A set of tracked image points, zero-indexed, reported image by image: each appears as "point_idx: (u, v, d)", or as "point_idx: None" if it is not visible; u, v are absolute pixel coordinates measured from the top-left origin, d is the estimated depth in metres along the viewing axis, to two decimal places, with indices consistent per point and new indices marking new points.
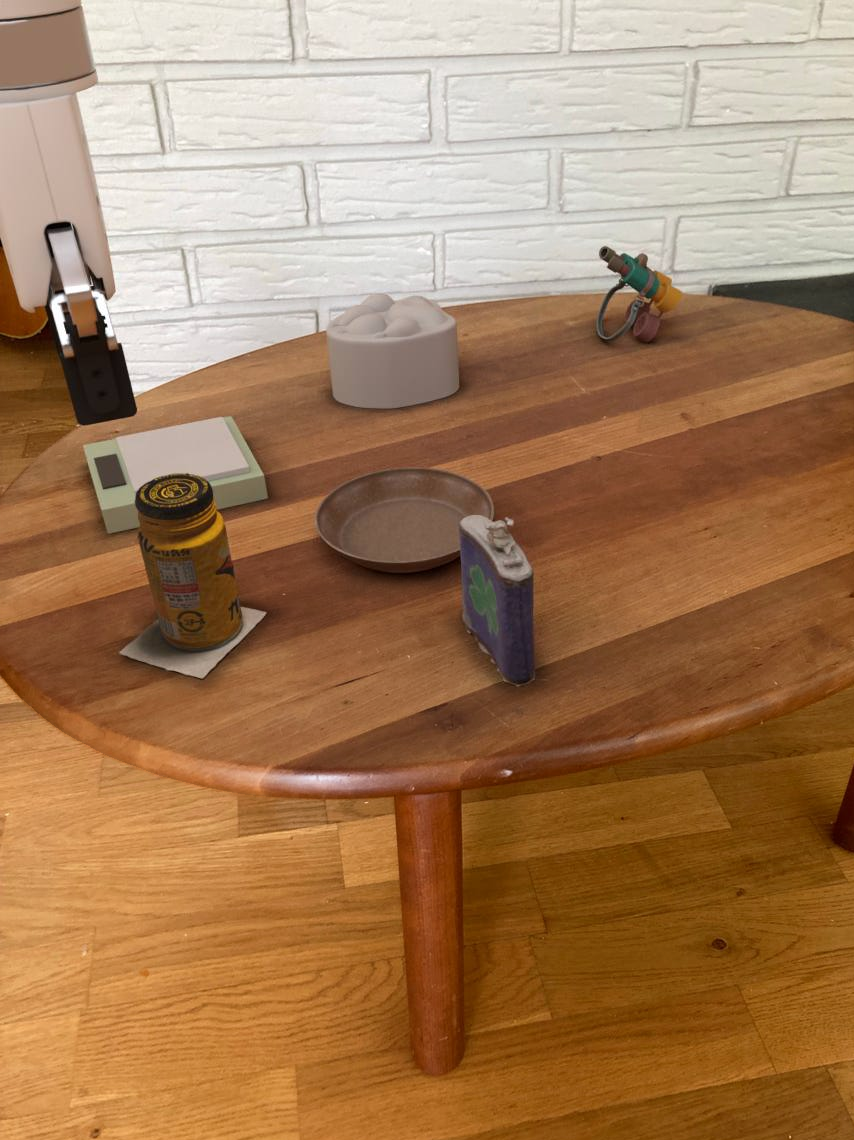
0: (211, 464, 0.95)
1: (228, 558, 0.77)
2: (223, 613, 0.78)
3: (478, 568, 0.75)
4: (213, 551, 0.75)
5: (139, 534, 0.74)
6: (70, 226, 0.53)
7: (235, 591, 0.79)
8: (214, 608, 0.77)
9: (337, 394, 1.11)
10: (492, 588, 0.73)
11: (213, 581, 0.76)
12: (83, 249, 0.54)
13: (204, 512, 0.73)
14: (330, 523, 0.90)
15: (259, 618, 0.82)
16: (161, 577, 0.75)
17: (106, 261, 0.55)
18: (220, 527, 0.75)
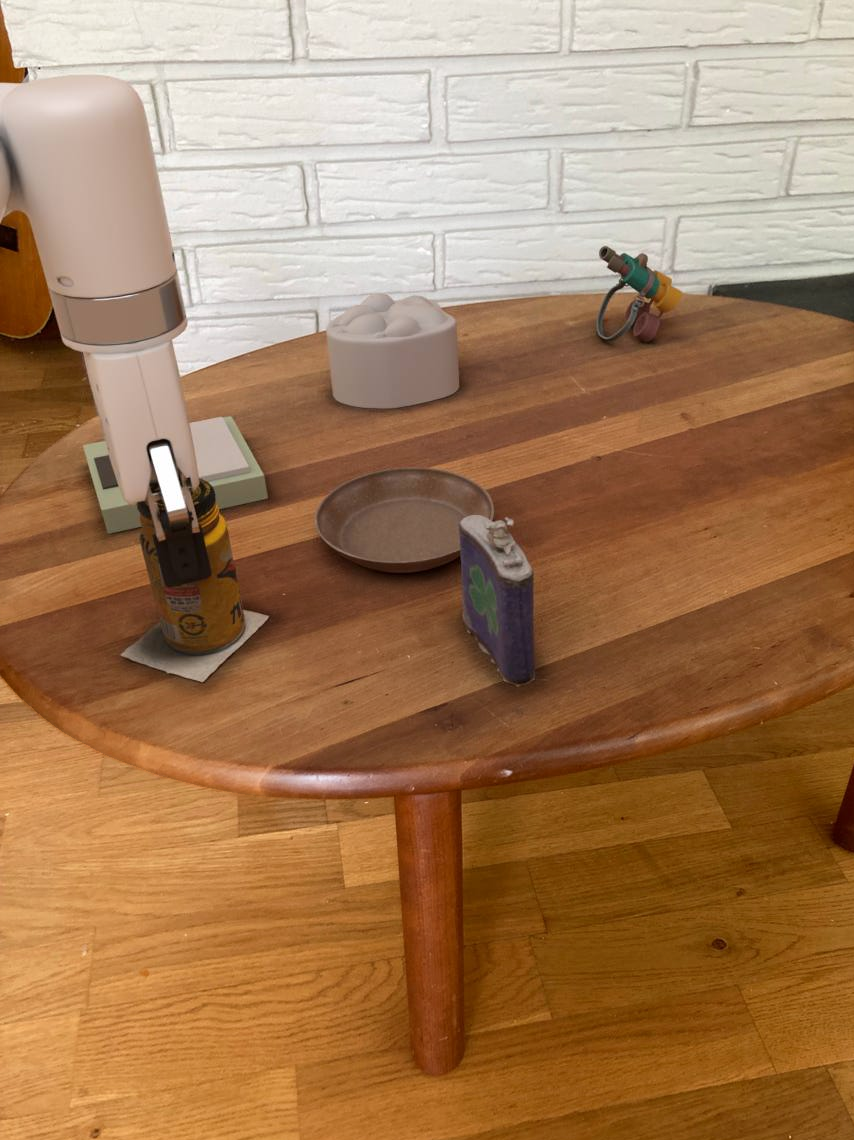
0: (211, 464, 0.95)
1: (230, 561, 0.76)
2: (225, 617, 0.77)
3: (478, 568, 0.75)
4: (215, 555, 0.74)
5: (141, 536, 0.74)
6: (168, 447, 0.66)
7: (237, 595, 0.78)
8: (215, 611, 0.76)
9: (337, 394, 1.11)
10: (492, 588, 0.73)
11: (214, 584, 0.75)
12: (176, 458, 0.67)
13: (205, 515, 0.73)
14: (330, 523, 0.90)
15: (261, 622, 0.81)
16: (162, 580, 0.74)
17: (193, 464, 0.68)
18: (222, 530, 0.75)
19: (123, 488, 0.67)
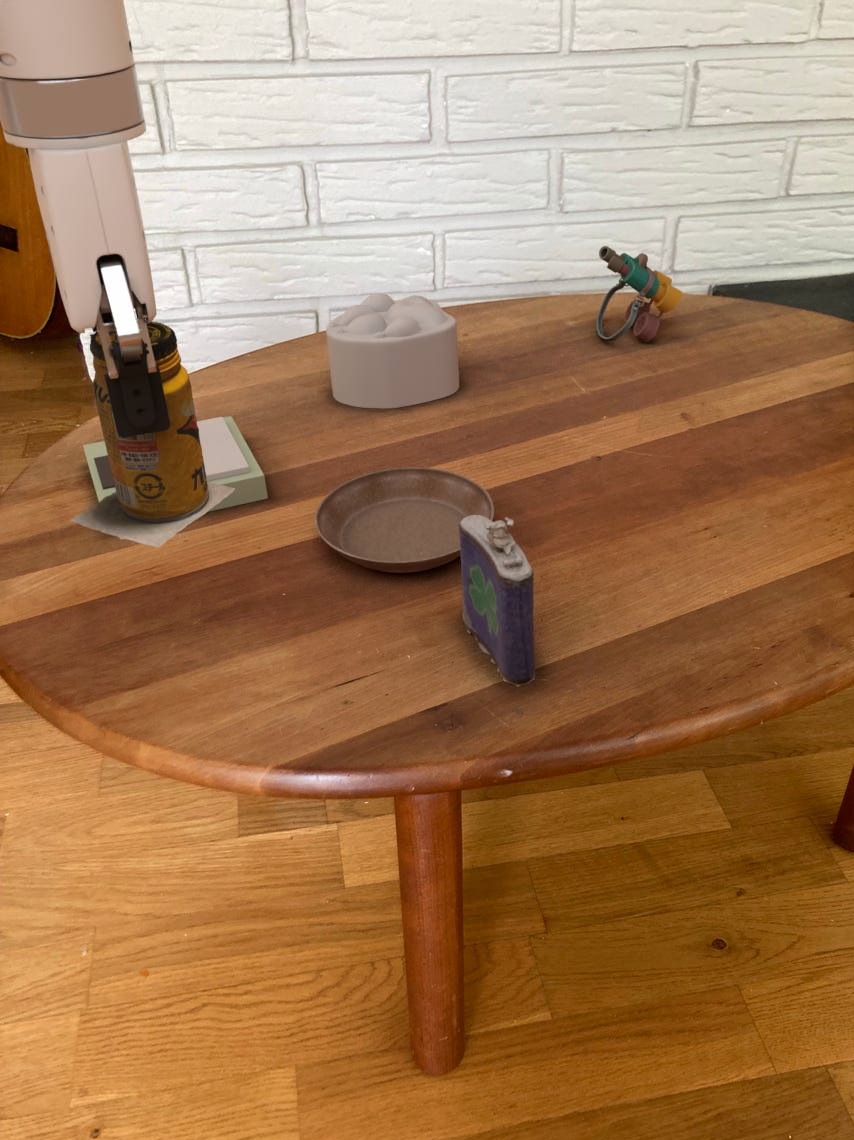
0: (211, 464, 0.95)
1: (192, 418, 0.70)
2: (185, 480, 0.71)
3: (478, 568, 0.75)
4: (175, 406, 0.68)
5: (94, 383, 0.68)
6: (121, 265, 0.60)
7: (200, 458, 0.72)
8: (175, 473, 0.70)
9: (337, 394, 1.11)
10: (492, 588, 0.73)
11: (174, 440, 0.69)
12: (130, 278, 0.60)
13: (165, 359, 0.66)
14: (330, 523, 0.90)
15: (227, 494, 0.75)
16: None
17: (149, 289, 0.61)
18: (183, 380, 0.68)
19: (70, 311, 0.60)
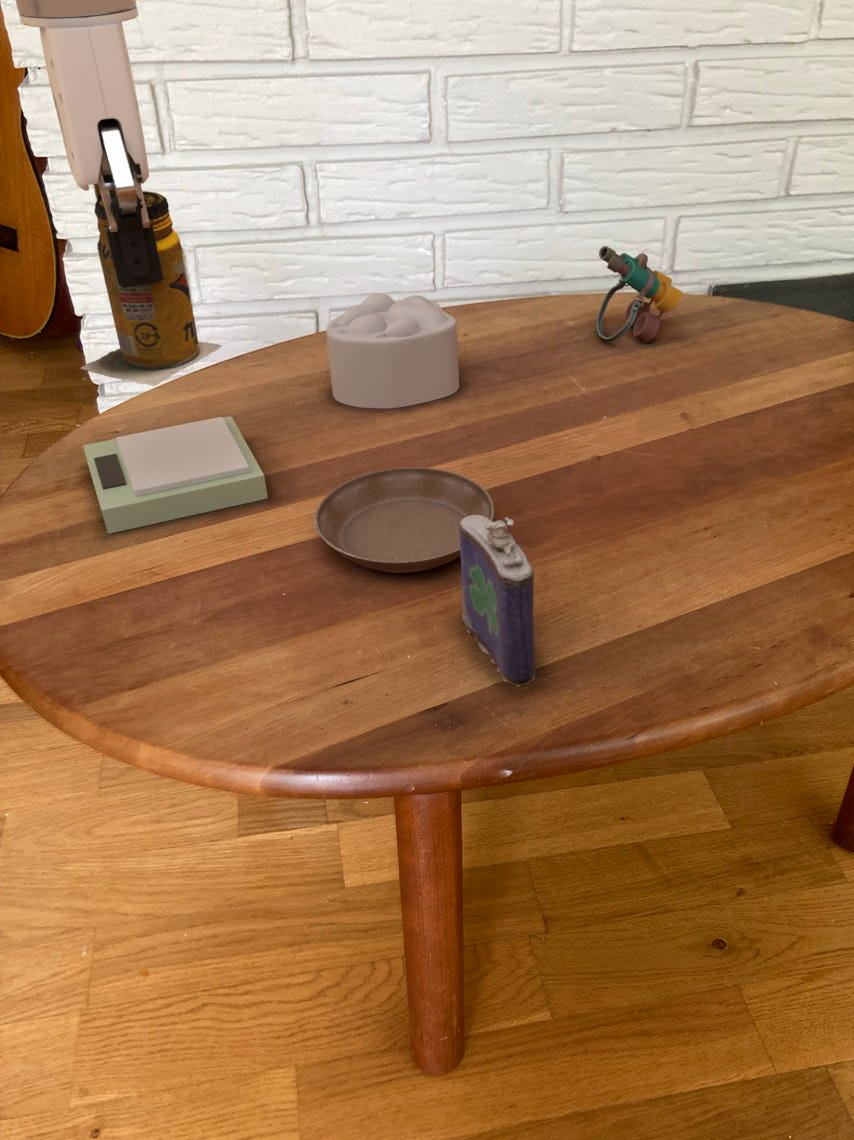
0: (211, 464, 0.95)
1: (183, 276, 0.82)
2: (178, 330, 0.82)
3: (478, 568, 0.75)
4: (167, 262, 0.79)
5: (98, 243, 0.79)
6: (118, 129, 0.71)
7: (190, 314, 0.83)
8: (168, 323, 0.82)
9: (337, 394, 1.11)
10: (492, 588, 0.73)
11: (167, 293, 0.81)
12: (126, 140, 0.72)
13: (158, 220, 0.78)
14: (330, 523, 0.90)
15: (215, 349, 0.86)
16: (118, 286, 0.80)
17: (142, 151, 0.73)
18: (174, 240, 0.80)
19: (76, 169, 0.72)
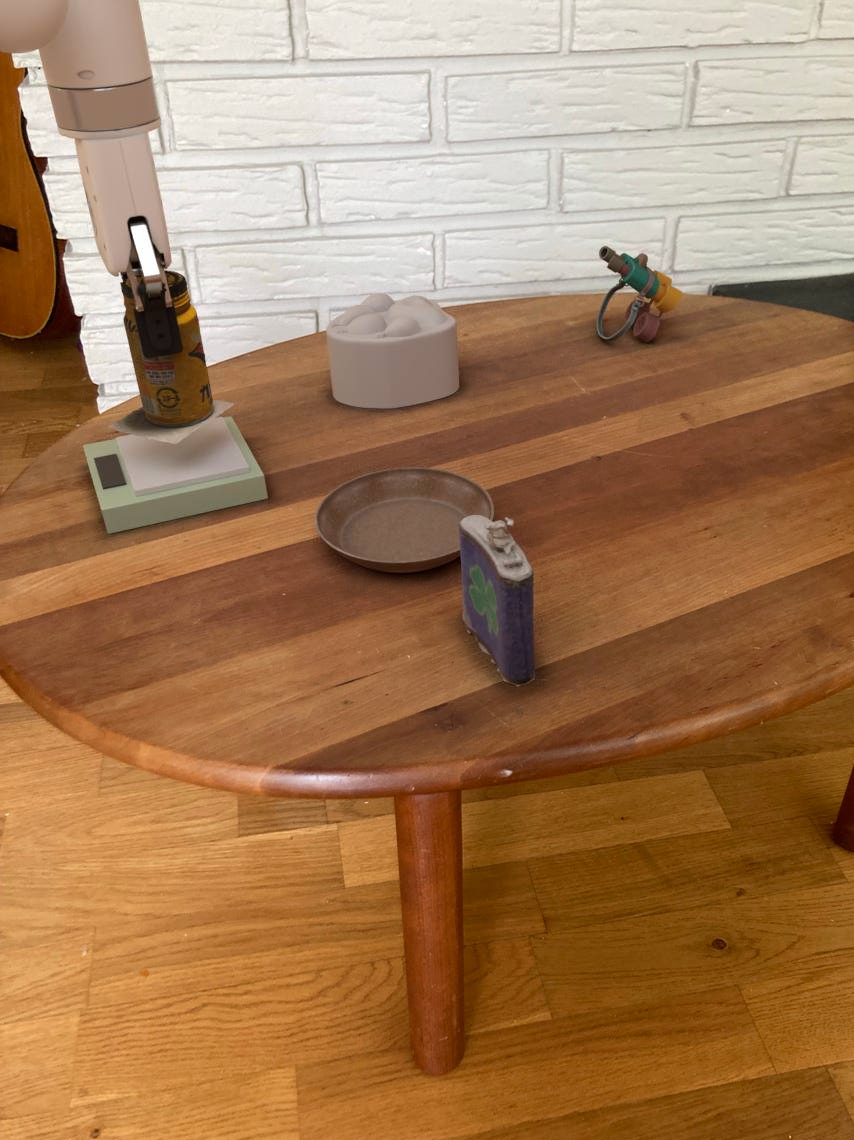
0: (211, 464, 0.95)
1: (200, 345, 0.91)
2: (195, 393, 0.92)
3: (478, 568, 0.75)
4: (186, 334, 0.89)
5: (125, 318, 0.89)
6: (145, 224, 0.81)
7: (206, 377, 0.93)
8: (187, 387, 0.91)
9: (337, 394, 1.11)
10: (492, 588, 0.73)
11: (186, 361, 0.90)
12: (152, 234, 0.81)
13: (178, 297, 0.88)
14: (330, 523, 0.90)
15: (227, 407, 0.96)
16: (142, 355, 0.89)
17: (166, 242, 0.82)
18: (192, 314, 0.89)
19: (108, 259, 0.82)
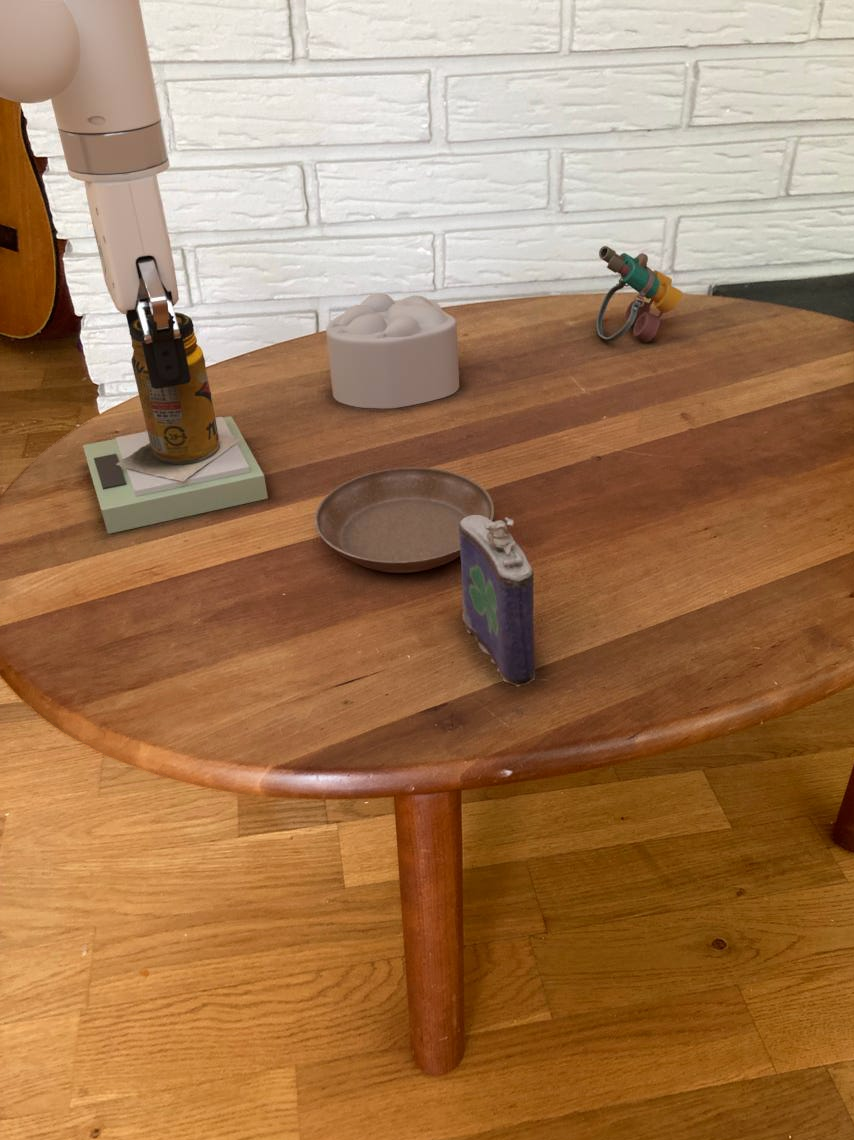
0: (211, 464, 0.95)
1: (206, 384, 0.93)
2: (202, 431, 0.94)
3: (478, 568, 0.75)
4: (193, 375, 0.91)
5: (133, 359, 0.91)
6: (152, 258, 0.82)
7: (212, 415, 0.95)
8: (194, 425, 0.93)
9: (337, 394, 1.11)
10: (492, 588, 0.73)
11: (193, 401, 0.92)
12: (159, 273, 0.83)
13: (185, 340, 0.90)
14: (330, 523, 0.90)
15: (233, 443, 0.98)
16: (150, 395, 0.91)
17: (173, 280, 0.84)
18: (199, 355, 0.91)
19: (117, 297, 0.83)
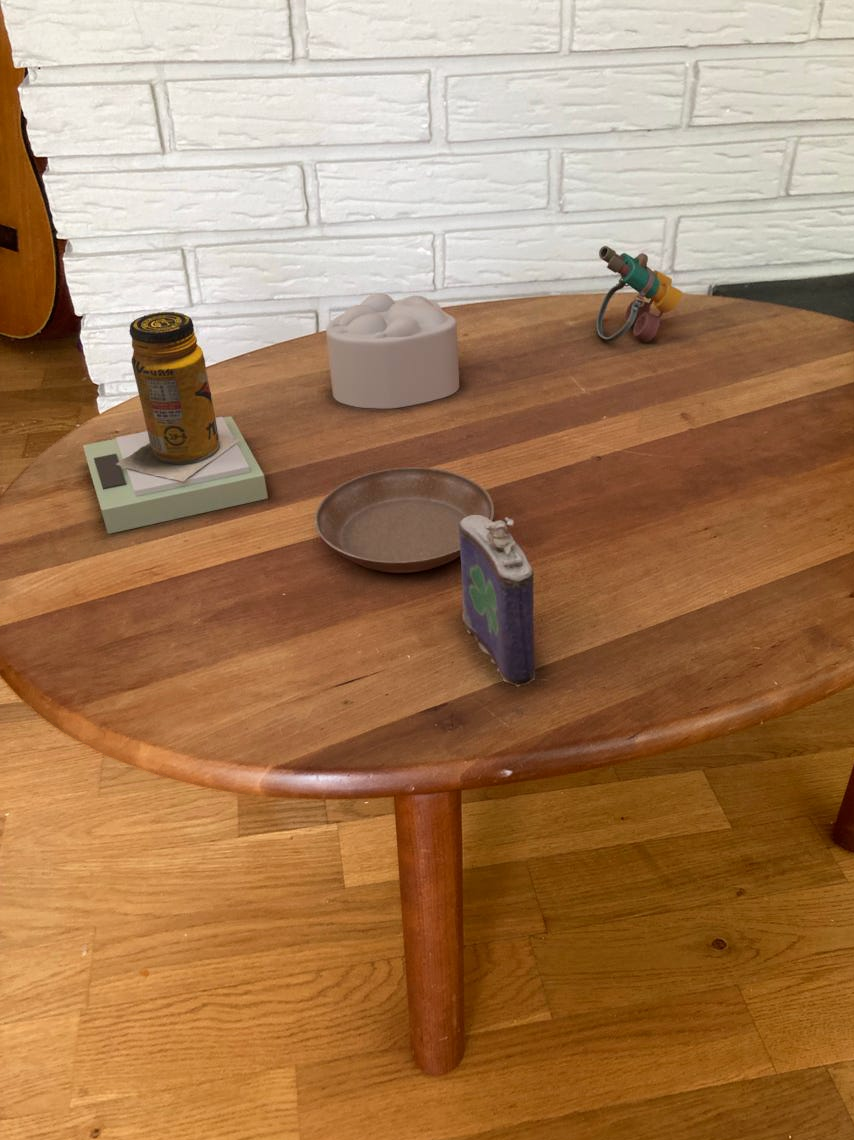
0: (211, 464, 0.95)
1: (206, 384, 0.93)
2: (202, 431, 0.94)
3: (478, 568, 0.75)
4: (193, 375, 0.91)
5: (133, 359, 0.91)
6: None
7: (212, 415, 0.95)
8: (194, 425, 0.93)
9: (337, 394, 1.11)
10: (492, 588, 0.73)
11: (193, 400, 0.92)
12: None
13: (185, 339, 0.90)
14: (330, 523, 0.90)
15: (233, 443, 0.98)
16: (150, 395, 0.91)
17: None
18: (199, 355, 0.91)
19: None
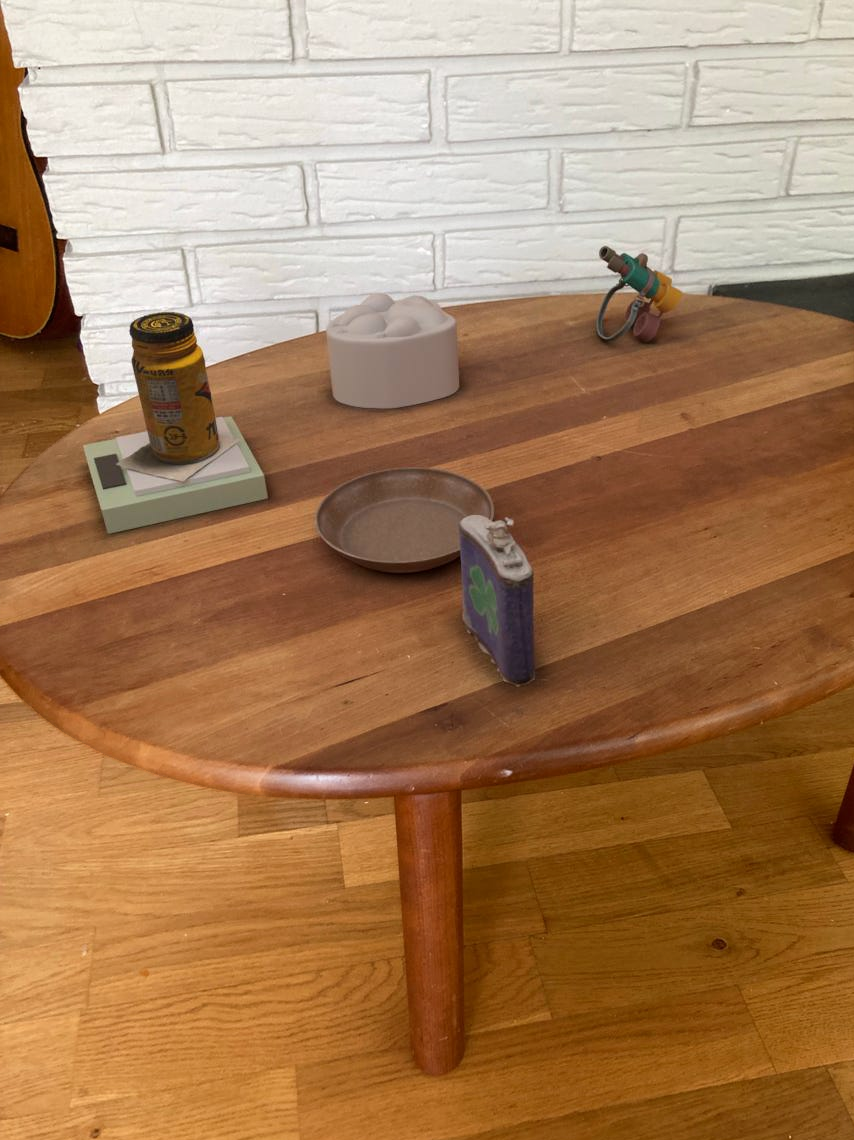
0: (211, 464, 0.95)
1: (206, 384, 0.93)
2: (202, 431, 0.94)
3: (478, 568, 0.75)
4: (193, 375, 0.91)
5: (133, 359, 0.91)
6: None
7: (212, 415, 0.95)
8: (194, 425, 0.93)
9: (337, 394, 1.11)
10: (492, 588, 0.73)
11: (193, 401, 0.92)
12: None
13: (185, 340, 0.90)
14: (330, 523, 0.90)
15: (233, 443, 0.98)
16: (150, 395, 0.91)
17: None
18: (199, 355, 0.91)
19: None
